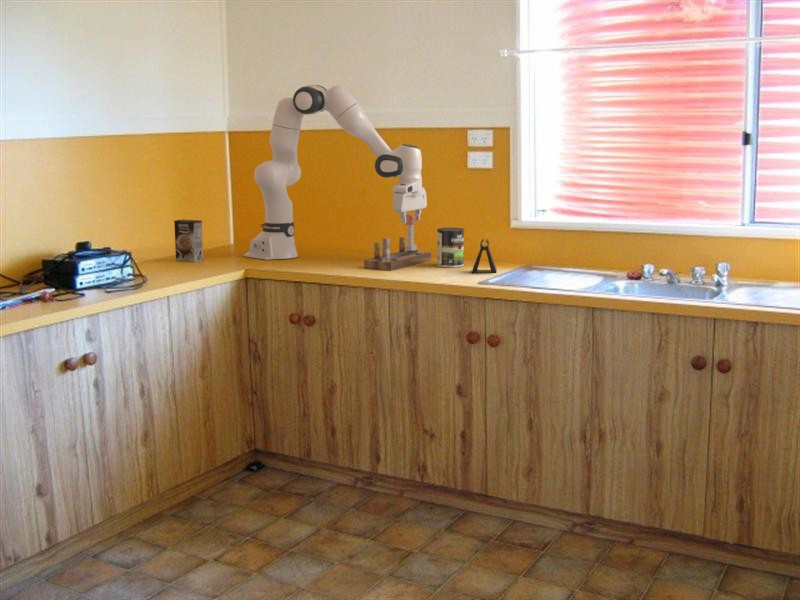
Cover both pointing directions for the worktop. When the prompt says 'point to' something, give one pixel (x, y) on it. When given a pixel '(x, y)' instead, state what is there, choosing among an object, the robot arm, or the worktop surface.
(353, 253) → the worktop surface
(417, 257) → the bolt plate
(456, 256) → the coffee can
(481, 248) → the black clip stand
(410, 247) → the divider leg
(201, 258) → the coffee box
